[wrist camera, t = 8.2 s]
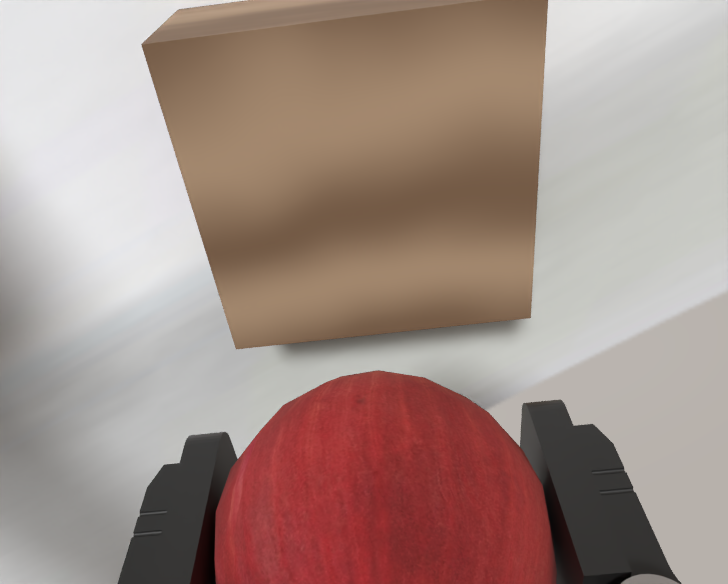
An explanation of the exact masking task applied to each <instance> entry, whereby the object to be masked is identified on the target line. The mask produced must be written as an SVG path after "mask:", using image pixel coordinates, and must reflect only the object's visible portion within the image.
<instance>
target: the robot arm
mask: <svg viewBox="0 0 728 584" xmlns="http://www.w3.org/2000/svg"><path fill="white" fill-rule="evenodd" d="M520 448H521V449H522V450H523V451H524V453H525V455H526V457H527V459H528V460H529V462H530V464H531V466H532V468H533V469H534V471H535V473H536V475H537V476H538V478H539V480H540V482H541V484H542V486H543V490H544V495H545V500H546V505H547V510H548V515H549V519H550V524H551V531H552V537H553V544H554V552H555V561H556V569H557V580H556V584H681V582H680V581H678V579H677V578H676V576H675V575H674V574H673V572H672V570H671V569H670V567H669V565H668V563H667V561H666V558H665V556H664V554H663V552H662V549H661V547H660V545H659V543H658V541H657V539H656V536H655V534H654V532H653V530H652V528H651V526H650V523H649V521H648V519H647V517H646V514H645V512H644V510H643V508H642V506H641V503H640V502H639V499H638V497H637V495H636V493H635V492H634V491H633V486H632V484H631V482H630V479H629V477H628V475H627V473H625V471H624V466H623V464H622V462H621V460H620V458H619V456H618V453H617V451H616V449H615V447H614V444H613V443H612V442H611V441H610V440H609V439H608V438H607V437H606V436H605V435H604V434H603V433H602V432H601V431H600V430H599V429H598V428H597V427H595V426H594V425H593V424H588V425H578V426H573V424H572V421H571V419H570V416H569V414H568V412H567V409H566V407H565V404H564V403H563V401H562V400H552V401H541V402H533V403H532V402H531V403H524V404H523V406H522V422H521V440H520ZM237 460H238V459H237V457H236V454H235V451H234V448H233V445H232V443H231V440H230V437H229V435H228V434H227V433H226V432H220V433H210V434H200V435H191V436H189V437H188V438H187V440H186V442H185V445H184V449H183V453H182V457H181V460H180V463H177V464H167V465H164V466H163V467H162V468H161V470H160V471H159V472H158V474H157V475H156V476H155V478H154V479H153V480H152V482H151V483H150V485H149V486H148V487H147V490H146V493H145V497H144V500H143V503H142V506H141V510H140V517H138V519H137V523H136V526H135V529H134V532H133V533H134V537H133V538H132V539H131V542H130V545H129V549H128V552H127V555H126V558H125V561H124V565H123V568H122V571H121V574H120V578H119V581H118V584H216V576H215V560H214V559H215V522H216V510H217V507H218V504H219V501H220V498H221V495H222V492H223V490H224V487H225V484H226V481H227V478H228V475H229V472H230V470H231V468H232V466H233V465H234V464H235V463H236V461H237Z"/></svg>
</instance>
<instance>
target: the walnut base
mask: <svg viewBox="0 0 728 584" xmlns="http://www.w3.org/2000/svg"><path fill="white" fill-rule="evenodd" d="M547 9H548V0H247V1H240V2H232V3H225V4H217V5H209V6H202V7H194V8H186V9H179V10H177V11H176V12H175V13H174V14H173V15H172V16H171V17H170V18H169V19H168V20H167V21H166V22H165V23H163V24H162V25H161V26H160V27H159V28H158V29H157V30H156V31H155V32H154V33H153V34H152V35H151V36H150V37H149V38H148V39H147V40H146V41H144V42H143V43H142V44H141V45H142V48H143V51H144V55H145V58H146V61H147V64H148V67H149V71H150V74H151V77H152V80H153V83H154V87H155V90H156V93H157V96H158V100H159V103H160V106H161V109H162V112H163V116H164V119H165V122H166V125H167V129H168V132H169V135H170V138H171V141H172V145H173V148H174V151H175V154H176V158H177V161H178V164H179V167H180V170H181V174H182V177H183V180H184V183H185V186H186V190H187V193H188V196H189V199H190V203H191V206H192V209H193V212H194V215H195V219H196V222H197V225H198V228H199V232H200V235H201V238H202V241H203V244H204V248H205V251H206V254H207V257H208V260H209V264H210V267H211V270H212V273H213V277H214V280H215V283H216V286H217V289H218V293H219V296H220V299H221V302H222V306H223V309H224V312H225V315H226V318H227V322H228V325H229V328H230V331H231V334H232V338H233V341H234V344H235V347H236V349H243V348H252V347H262V346H271V345H281V344H290V343H299V342H309V341H318V340H328V339H337V338H346V337H356V336H365V335H375V334H384V333H394V332H403V331H412V330H422V329H431V328H441V327H450V326H460V325H469V324H478V323H488V322H497V321H507V320H516V319H526V318H531V301H532V283H533V265H534V246H535V228H536V210H537V191H538V173H539V155H540V137H541V118H542V100H543V82H544V63H545V45H546V27H547Z"/></svg>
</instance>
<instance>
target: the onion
mask: <svg viewBox="0 0 728 584" xmlns="http://www.w3.org/2000/svg"><path fill="white" fill-rule="evenodd" d="M214 560H215V576H216V584H556V580H557V569H556V561H555V552H554V544H553V537H552V531H551V524H550V519H549V515H548V510H547V505H546V500H545V495H544V490H543V486H542V484H541V482H540V480H539V478H538V476H537V475H536V473H535V471H534V469H533V468H532V466H531V464H530V462H529V460H528V459H527V457H526V455H525V453H524V451H523V450H522V449H521V448H520V447H519V446H518V445H517V443H516V442H515V441H514V440H513V439H512V438H511V437H510V436H509V435H508V433H507V432H506V431H505V430H504V429H503V428H502V427H501V426H500V425H499V424H498V422H497V421H496V420H495V419H494V418H493V417H492V416H491V415H490V414H489V413H488V412H487V411H485V410H484V409H482V408H481V407H479V406H478V405H477V404H475V403H474V402H472V401H471V400H469V399H468V398H466V397H464V396H462V395H460V394H458V393H456V392H454V391H451V390H449V389H447V388H445V387H443V386H441V385H439V384H437V383H434V382H432V381H430V380H428V379H426V378H423V377H417V376H411V375H404V374H398V373H391V372H385V371H379V370H378V371H372V372H366V373H360V374H354V375H348V376H342V377H339V378H336V379H334V380H331V381H328V382H326V383H324V384H322V385H320V386H318V387H317V388H315V389H313V390H311V391H309V392H307V393H305V394H303V395H302V396H300V397H298V398H296V399H294V400H292V401H290V402H288V403H287V404H285V405H283V406H282V407H281V408H280V410H279V411H278V412H277V413H276V414H275V415H274V416H273V417H272V418H271V419H270V420H269V422H268V423H267V424H266V425H265V426H264V427H263V428H262V429H261V430H260V432H259V433H258V434H257V436H256V437H255V438H254V439H253V441H252V442H251V443H250V445H249V446H248V447H247V448H246V450H245V451H244V452H243V454H242V455H241V456H240V457H239V459H238V460H237V461H236V463H235V464H234V465H233V466H232V468H231V470H230V472H229V475H228V478H227V481H226V484H225V487H224V490H223V492H222V495H221V498H220V501H219V504H218V507H217V510H216V522H215V559H214Z"/></svg>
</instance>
